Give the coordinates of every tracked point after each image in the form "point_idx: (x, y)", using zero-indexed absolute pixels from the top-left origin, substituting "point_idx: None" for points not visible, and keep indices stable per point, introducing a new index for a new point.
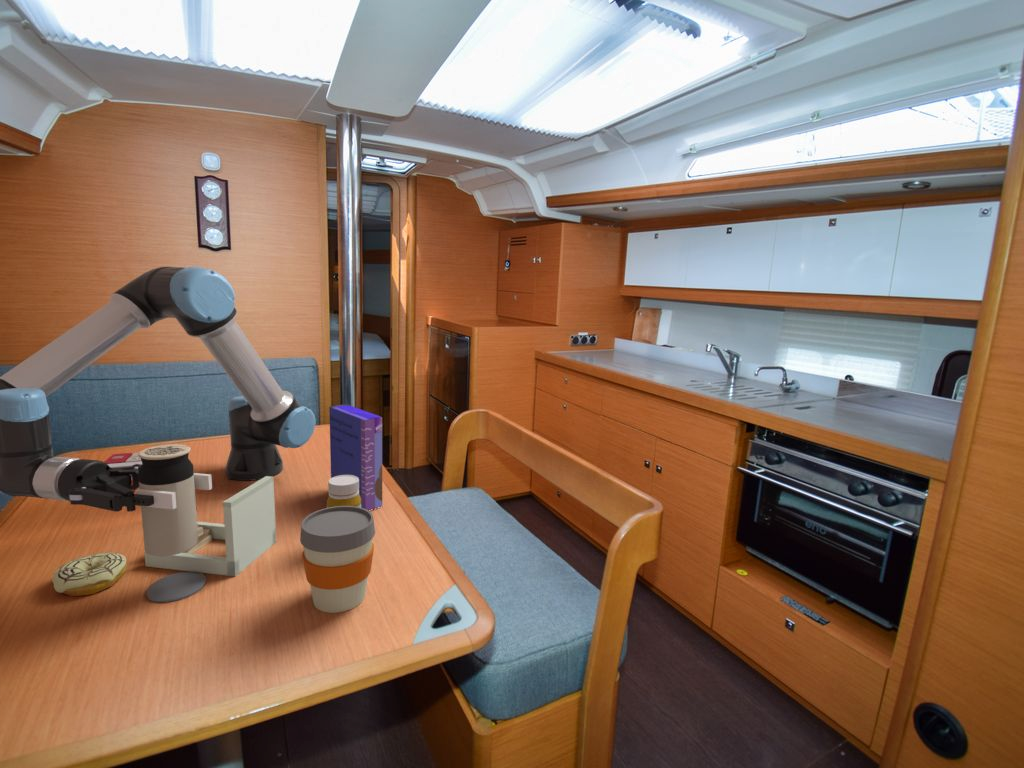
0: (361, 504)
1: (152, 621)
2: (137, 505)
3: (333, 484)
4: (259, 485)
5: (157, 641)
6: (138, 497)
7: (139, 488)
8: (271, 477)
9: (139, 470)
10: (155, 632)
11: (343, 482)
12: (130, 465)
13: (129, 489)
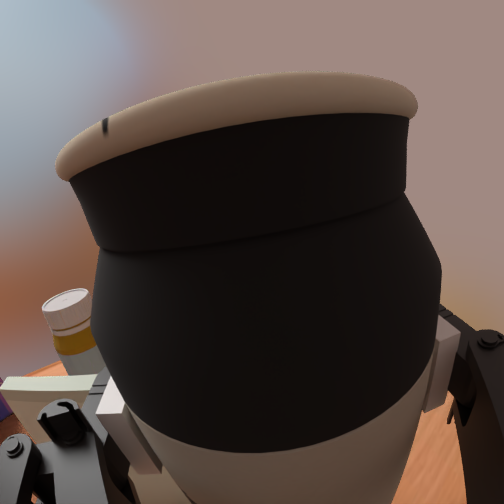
0: (5, 407)
1: (406, 487)
2: (443, 402)
3: (81, 299)
4: (54, 377)
5: (425, 436)
6: (456, 317)
7: (425, 391)
8: (12, 377)
9: (430, 257)
10: (417, 457)
11: (72, 297)
12: None
13: (484, 378)
